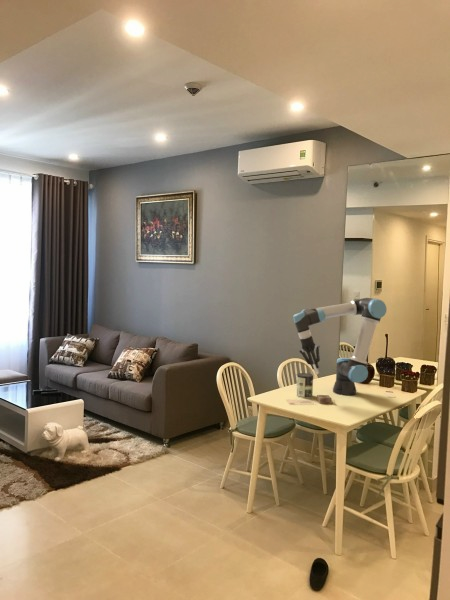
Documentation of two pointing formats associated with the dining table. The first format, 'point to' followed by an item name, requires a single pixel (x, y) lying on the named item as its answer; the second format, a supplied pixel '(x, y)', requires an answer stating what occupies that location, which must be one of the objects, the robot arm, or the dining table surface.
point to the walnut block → (324, 399)
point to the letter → (300, 402)
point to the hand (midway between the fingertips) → (317, 373)
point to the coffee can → (304, 385)
